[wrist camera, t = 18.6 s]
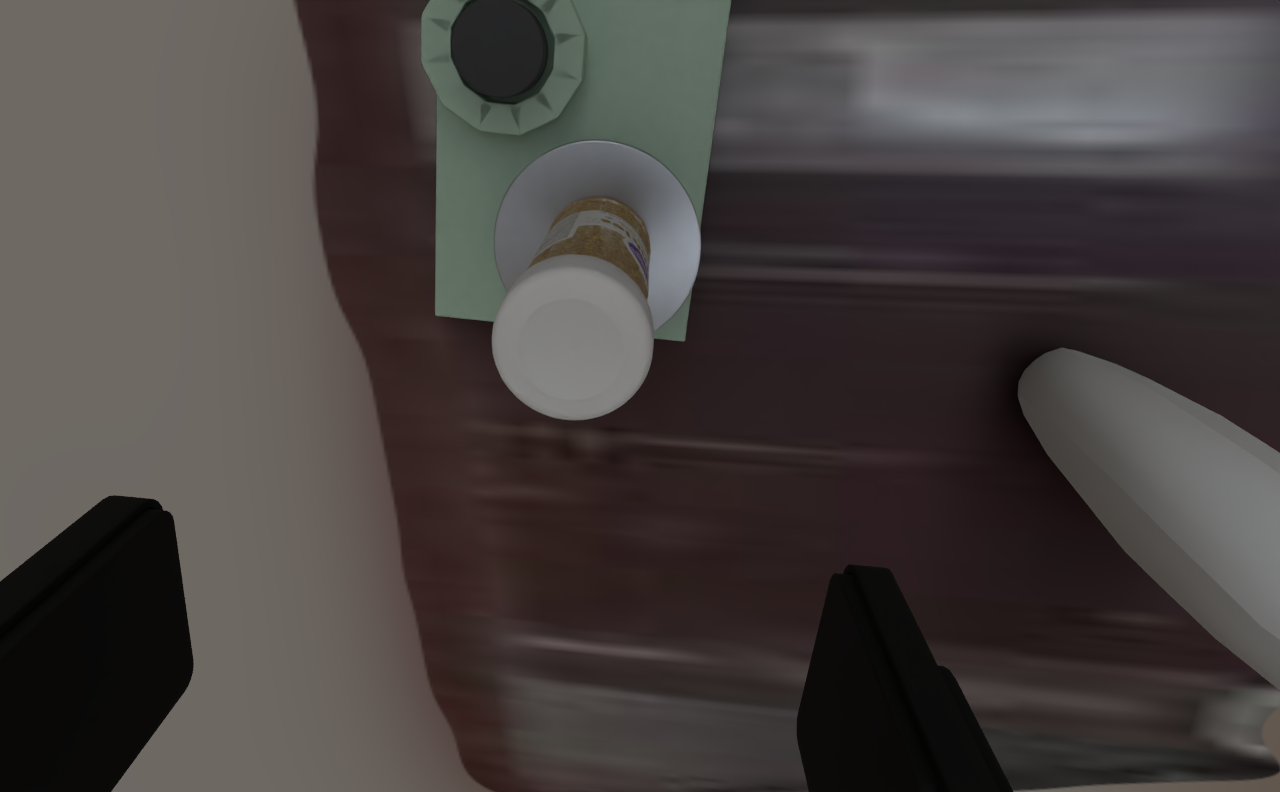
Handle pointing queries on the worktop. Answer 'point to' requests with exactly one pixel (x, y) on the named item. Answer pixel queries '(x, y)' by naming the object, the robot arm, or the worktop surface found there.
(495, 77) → the power button
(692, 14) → the scale
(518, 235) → the platter
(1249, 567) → the soap bottle
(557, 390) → the sprinkles bottle
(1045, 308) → the worktop surface
